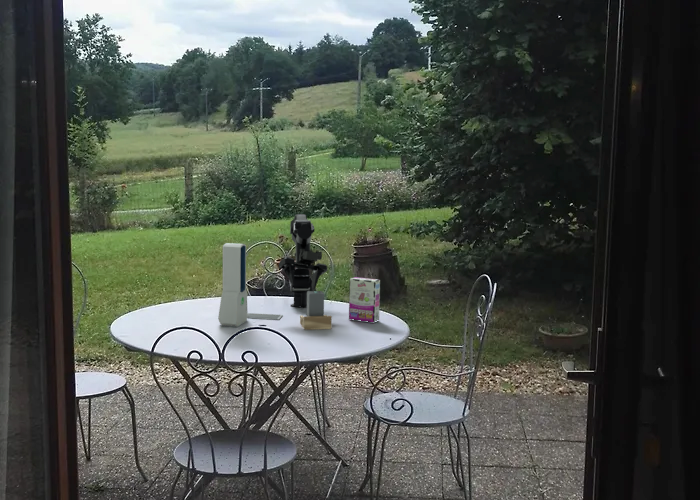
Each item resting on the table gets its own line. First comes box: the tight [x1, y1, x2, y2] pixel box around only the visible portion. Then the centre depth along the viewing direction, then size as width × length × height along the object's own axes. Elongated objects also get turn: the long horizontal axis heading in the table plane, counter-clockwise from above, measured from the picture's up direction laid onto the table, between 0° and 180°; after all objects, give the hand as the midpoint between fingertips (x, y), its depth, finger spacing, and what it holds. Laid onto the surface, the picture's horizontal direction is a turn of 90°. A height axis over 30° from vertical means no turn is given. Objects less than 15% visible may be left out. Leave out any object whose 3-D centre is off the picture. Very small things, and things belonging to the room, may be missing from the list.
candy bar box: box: [348, 276, 381, 323], centre depth 288 cm, size 11×5×16 cm, turn 62°
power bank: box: [306, 290, 325, 316], centre depth 278 cm, size 5×6×12 cm
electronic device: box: [217, 242, 249, 328], centre depth 278 cm, size 12×8×30 cm, turn 168°
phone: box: [247, 312, 284, 321], centre depth 291 cm, size 7×14×1 cm, turn 83°
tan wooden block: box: [299, 314, 333, 331], centre depth 278 cm, size 10×10×5 cm
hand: (303, 286), depth 289 cm, fingers open, 9 cm apart
